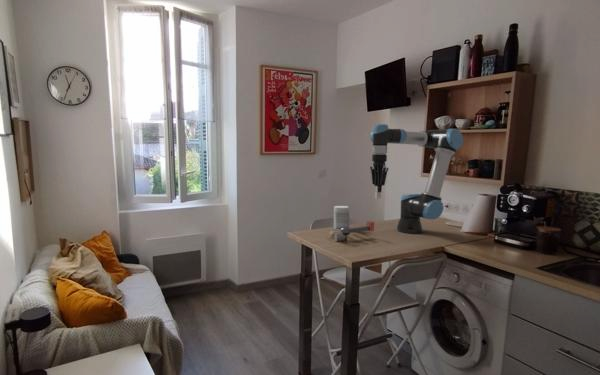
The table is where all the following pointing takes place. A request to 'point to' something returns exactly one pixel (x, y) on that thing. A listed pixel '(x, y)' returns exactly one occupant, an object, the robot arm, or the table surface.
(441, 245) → the table surface
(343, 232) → the lever
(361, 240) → the cracker base
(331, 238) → the walnut
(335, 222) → the supplement tub
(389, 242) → the table surface
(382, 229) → the table surface
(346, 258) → the table surface
